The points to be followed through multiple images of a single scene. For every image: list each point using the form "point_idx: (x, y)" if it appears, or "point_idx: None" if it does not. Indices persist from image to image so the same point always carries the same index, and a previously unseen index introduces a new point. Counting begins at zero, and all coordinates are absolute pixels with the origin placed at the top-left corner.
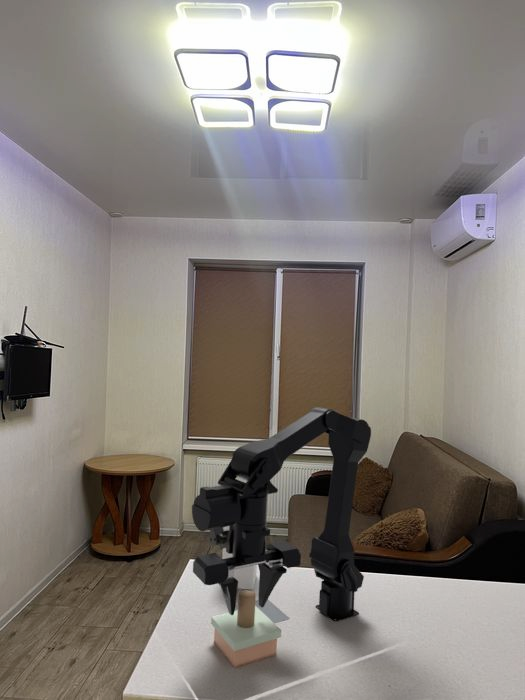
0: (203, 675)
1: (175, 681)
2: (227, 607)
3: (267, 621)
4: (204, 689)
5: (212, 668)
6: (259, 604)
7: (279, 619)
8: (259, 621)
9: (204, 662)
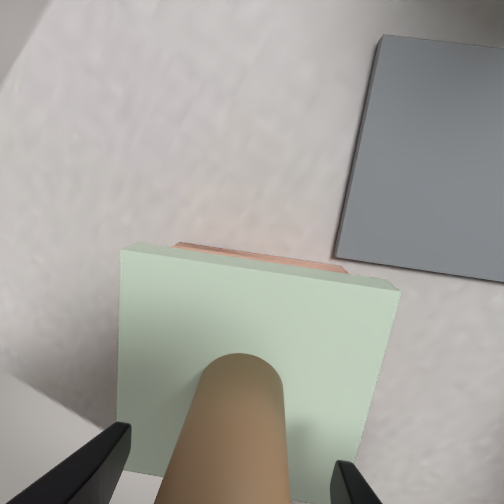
0: (84, 346)
1: (6, 324)
2: (87, 444)
3: (339, 435)
4: (65, 390)
5: None
6: (336, 473)
7: (494, 265)
8: (307, 414)
9: (110, 302)
